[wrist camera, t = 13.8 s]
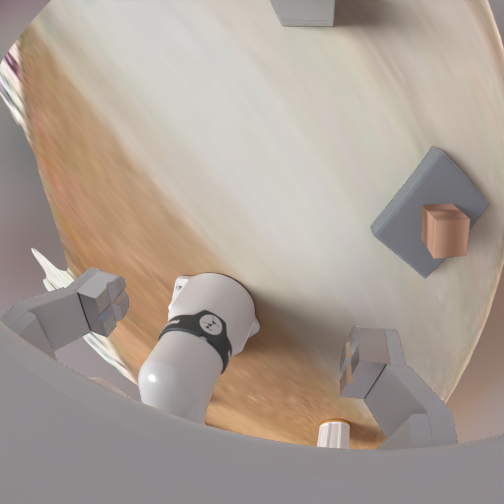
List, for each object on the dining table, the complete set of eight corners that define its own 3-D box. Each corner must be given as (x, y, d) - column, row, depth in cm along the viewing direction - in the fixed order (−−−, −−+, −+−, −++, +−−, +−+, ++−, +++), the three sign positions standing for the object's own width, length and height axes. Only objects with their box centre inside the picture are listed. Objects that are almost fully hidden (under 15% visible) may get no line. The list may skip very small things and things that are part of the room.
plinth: (420, 267, 41) (426, 280, 38) (370, 226, 40) (374, 237, 37) (479, 197, 33) (490, 205, 29) (432, 146, 32) (442, 150, 29)
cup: (361, 425, 65) (359, 477, 50) (333, 436, 71) (327, 484, 56) (336, 413, 64) (330, 469, 49) (307, 425, 70) (298, 476, 55)
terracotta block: (421, 238, 35) (433, 258, 30) (421, 205, 33) (436, 221, 28) (450, 236, 34) (465, 255, 28) (452, 203, 31) (470, 218, 26)
